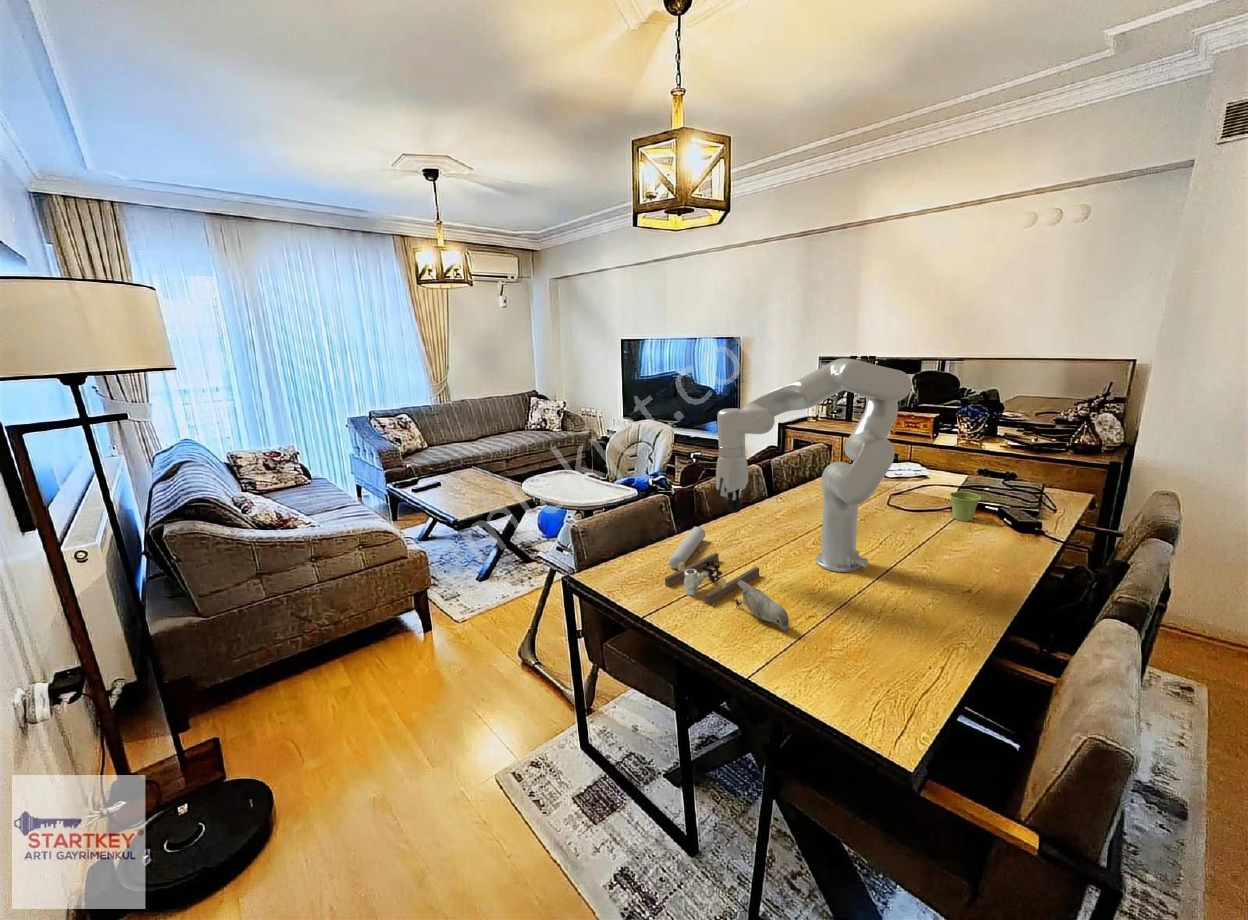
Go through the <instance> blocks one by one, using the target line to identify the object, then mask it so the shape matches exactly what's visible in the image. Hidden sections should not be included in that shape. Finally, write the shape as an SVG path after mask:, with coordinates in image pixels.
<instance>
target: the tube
mask: <svg viewBox="0 0 1248 920" xmlns="http://www.w3.org/2000/svg"><path fill="white" fill-rule="evenodd" d="M705 537H706V531H705V530H704V529H703V528H702V527H701V526H693V527H692V529H691V530H690V533H689V534H688V535H687V536H686V538H685V539H684V540H683V541H682V542H681V543H680V545H679V546H678V547H677V549H676V550H675V551H674V552H673V553H672V554H671V556H670V557H669V558H668V559H669V560H668V561H669V563H668V564H669V566H670V567H672V568H671V569H674V570H678V563H680V562H683V563H685V564H686V563H687V561H688V560H689V558H690V557H692V555H693V553H694V552H695V550H696V549H697V547H698V546H699V545H700V544H701V543H702V541H703V540H704V539H705Z"/></svg>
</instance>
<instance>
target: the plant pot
mask: <svg viewBox="0 0 1248 920" xmlns="http://www.w3.org/2000/svg"><path fill="white" fill-rule="evenodd" d="M949 497H950V500H951V511H952V512H951V513H952V515H951V516H952V518H953V519H954V520H957V521H960V522H968V521H970V522H971V521H973V519H974V516H975V512H976V509H977V506H978V504H979V502H980V500H982V496H981V495H978V494H976V493H973V492H968V491H954V492H950V493H949Z"/></svg>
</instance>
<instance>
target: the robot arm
mask: <svg viewBox="0 0 1248 920" xmlns="http://www.w3.org/2000/svg"><path fill="white" fill-rule="evenodd" d="M912 385H913V383H912V379H911V378H910V376H909V375H908V374H907V373H906V372H905V371H902V370H899V369H896V368H895V369H894V368H890V367H887V366H882V365H878V364H873V363H870V362H866V361H863V360H859V359H853V358H845V357H844V358H838V359H835V360H833V361H831V362H829V363H826V364H825V365H823V366H821V367H820V368H818V369H816V370H814V371H813V372H810V373H808V374H807V375H805V376H803V377H802V378H800V379H797V380H796V381H793V382H791V383H788V384H785V385H783V386H781V387H779V388H776V389H773V390H770V391H768V392H767V393H765V394H763V395H761V396H759V397H757V398H756V399H755V398H754V399H753V400H752V401H750V402H748V403H747V404H746V405H744V406H743V408H742V409H741V408H736V407H735V408H734V407H733V408H731V407H730V408H723V409H720V410H719V411H718V412H717V415H716V416H717V420H716V421H717V440H718V458H717V461H716V469H715V470H716V471H715V488H716V491H720V497H723V498H725V499H726V500H727V508H728V509H727V510H728V512H730V513H735V514H737V513H739V512H741V498H742V492H743V491H744V490H745V489H746V488H747V485H748V484H749V468H748V467H749V466H748V461H747V455H746V434H748V435H750V434H751V435H764V434H766V433H768V432H771V430H772V429H773V427H774V426H775V421H776V420H775V417H777V416H779V415H781V414H784V413H787V412H791V411H801V410H807V409H810V408H812V407H815V406H816V405H818V404H820V403H822V402H823V401H825V400H827V399H830V398H831V397H833V396H834V395H837V394H839V393H841V392H843V391H846V392H850V393H853V394H856V395H859V396H864V397H865V401H866V403H865V408H864V411H863V414H862V415H861V417H860V419H859V421H858V423H857V424H856V426H855V427H854V429H853V430H852V432H851V434H850V436H849V437H848V438H847V441H846V442H845V444H844V449H843V450H844V453H845V455H846V457H848V459H849V460H851V461H852V463H851V464H850V463H847V462H845V461H834V462H832V463H829V465H827V466H826V467H825V468H824V470H823V472H822V474H821V490H822V497H823V498H822V505H823V506H822V527H821V528H822V534H821V552H820V553H818V554H817V555H816V556H815V563H816V564H817V565H818V566H820V567H821V568H823V569H825V570H829V571H832V572H838V573H849V572H854V571H857V570H859V569H860V568H865V569H867V568H868V567H869V561H868V560H869V559H868V558H867V557H862V556H861V555H860V550H857V549H856V548H857V532H858V515H859V514H858V513H859V507H858V506H859V505H861V504H864V503H865V502H866V501H868V500H869V499H870V497H872V495H874V493H875V491H876V490H877V489H878V487H879V485H880V483H881V482H882V481H883V479H884V478H885V476H886V475H887V473H888V471H889V469H890V468H891V467H892V464H893V463H894V459H895V455H896V454H895V453H896V452H895V447H894V446H893V443H892V442H891V441H890V440H889V439H888V436H889V434H890V432H891V430H892V429H893V427H894V425H895V423H896V420H897V418H898V412H899V405H898V402H899V401H902V400H904V399H906V398H907V397H908V396H909V394H910V392H911V390H912Z"/></svg>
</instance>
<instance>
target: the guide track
mask: <svg viewBox="0 0 1248 920" xmlns="http://www.w3.org/2000/svg"><path fill="white" fill-rule="evenodd" d="M707 560H708V561H709V563H711V562H710V561H711V560H714V561H715V563H717V562H719V561H720V560H719V553H717V552H714V553H712V554H710V555H707V556H705V557H704V558H701V559H700V560H698V561H696V562H694V563H692V564H689V565H688V566H685V565H686V562H685V563H683V562H680V563H678V569H677V571H675V572H674V573H671V574H670V575H667V576H666V577H664V585H665V586H666V587H671V586H672V585H674V584H676V583H679V582H680V581H683V580H684V578H685V576H684V571H685V570H687V569H695V570H696V571H697V572H698V573H699V572H701V570H703V567H704V566H706V565H707V564H705V561H707ZM759 576H760V567H757V566H754V567H753V568H751V569H749V570H748V571H746V572H744V573H742V574H740V575H739V576H737V577H736V578H733V579H732V580H730V581H728V582H727V583H726V581H727V579H726V578H724V577H720V579H719V581H718V588H716V589H714V590H712V591H711V592H709V593H707V594H705V595H704V599H705V602H704V603H705V605H708V606H710V605H712V604H714V603H715V602H717V601H719V600H721V599H722V598H724V597H726V596H727V595H729V594H730V593H731V594H732V593H733V592H734V591H735V590H738V589H740V588H741V587H740V586H739V585H738V584H737V583H738V582H739V580H742V581H744V582H745V583H747V584H749V583H750V582H751V581H753V580H754V579H756V578H757V577H759Z"/></svg>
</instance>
